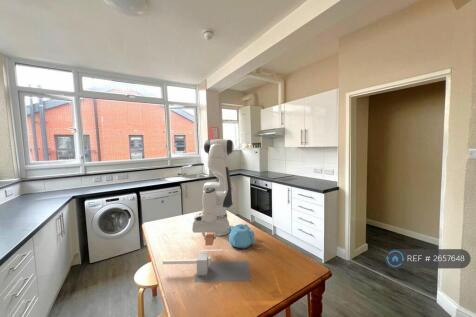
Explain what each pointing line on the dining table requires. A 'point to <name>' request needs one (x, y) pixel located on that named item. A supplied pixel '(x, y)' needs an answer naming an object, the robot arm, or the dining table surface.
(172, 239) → the dining table surface
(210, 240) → the salmon orange rectangular block
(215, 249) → the white mat
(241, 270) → the board
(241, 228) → the decorative pot
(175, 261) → the bar
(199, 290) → the dining table surface
